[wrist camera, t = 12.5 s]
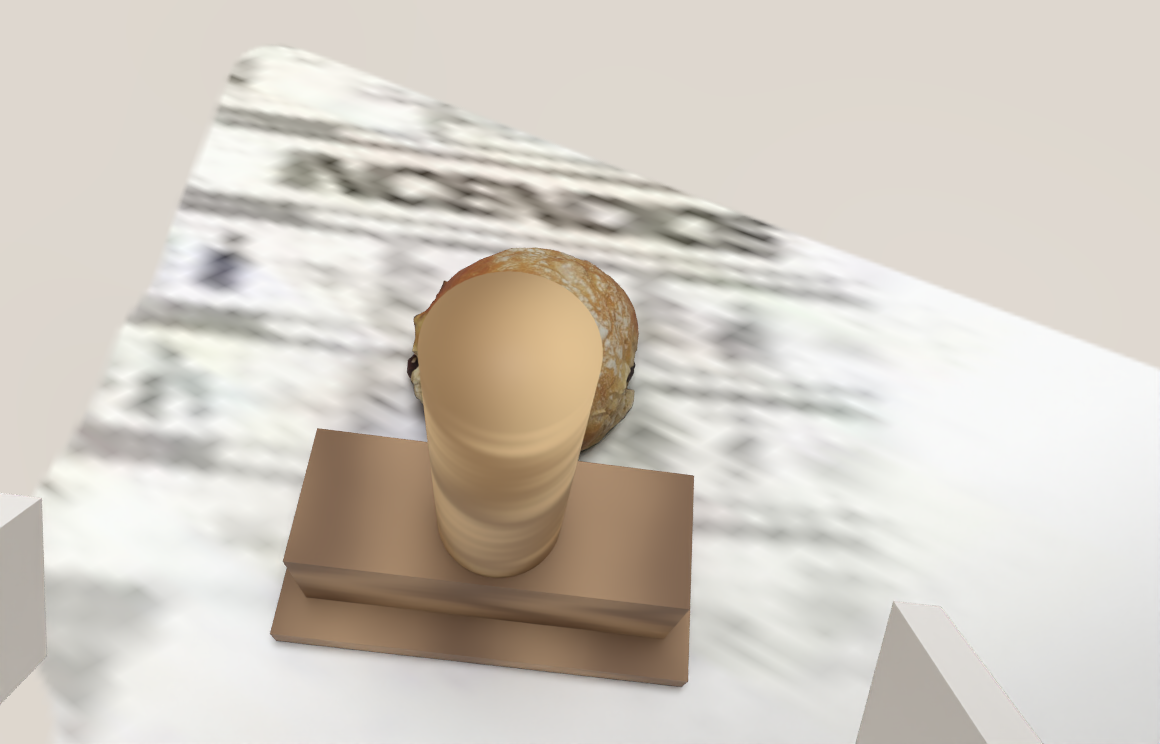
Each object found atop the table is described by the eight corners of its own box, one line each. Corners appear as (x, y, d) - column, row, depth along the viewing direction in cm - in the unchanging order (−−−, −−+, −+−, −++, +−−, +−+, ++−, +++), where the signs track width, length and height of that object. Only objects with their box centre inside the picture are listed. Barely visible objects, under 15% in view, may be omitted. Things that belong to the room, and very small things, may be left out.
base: (687, 497, 39) (720, 442, 34) (681, 686, 35) (717, 657, 30) (323, 452, 38) (299, 388, 33) (276, 640, 35) (241, 602, 29)
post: (566, 466, 33) (608, 282, 22) (555, 584, 31) (596, 441, 20) (447, 453, 33) (433, 261, 22) (427, 570, 30) (402, 419, 20)
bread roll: (579, 506, 42) (681, 453, 36) (374, 452, 38) (452, 380, 32) (590, 330, 47) (681, 256, 41) (409, 263, 43) (482, 169, 37)
